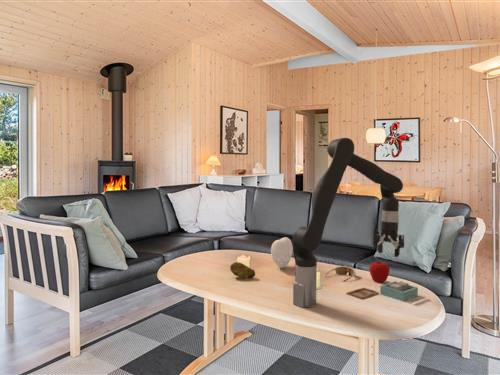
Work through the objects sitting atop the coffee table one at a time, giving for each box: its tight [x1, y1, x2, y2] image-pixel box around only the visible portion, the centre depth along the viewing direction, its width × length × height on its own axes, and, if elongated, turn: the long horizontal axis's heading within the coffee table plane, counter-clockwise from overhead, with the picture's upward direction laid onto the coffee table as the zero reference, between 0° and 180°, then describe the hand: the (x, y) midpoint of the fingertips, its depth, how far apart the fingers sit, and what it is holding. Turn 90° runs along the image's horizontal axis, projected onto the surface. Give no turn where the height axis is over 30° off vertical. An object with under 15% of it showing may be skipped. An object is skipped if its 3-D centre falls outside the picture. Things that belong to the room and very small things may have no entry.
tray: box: [345, 287, 380, 300], centre depth 180 cm, size 13×9×1 cm
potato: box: [230, 261, 256, 280], centre depth 206 cm, size 8×13×8 cm, turn 58°
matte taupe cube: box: [389, 283, 402, 291], centre depth 177 cm, size 4×4×5 cm
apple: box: [369, 261, 390, 284], centre depth 199 cm, size 10×10×11 cm
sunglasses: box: [324, 265, 357, 282], centre depth 207 cm, size 14×15×5 cm
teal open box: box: [379, 280, 419, 302], centre depth 178 cm, size 12×12×4 cm
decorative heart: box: [270, 236, 293, 271], centre depth 225 cm, size 18×11×17 cm, turn 149°
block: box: [396, 281, 410, 292], centre depth 180 cm, size 4×4×5 cm
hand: (388, 254), depth 182 cm, fingers open, 8 cm apart
